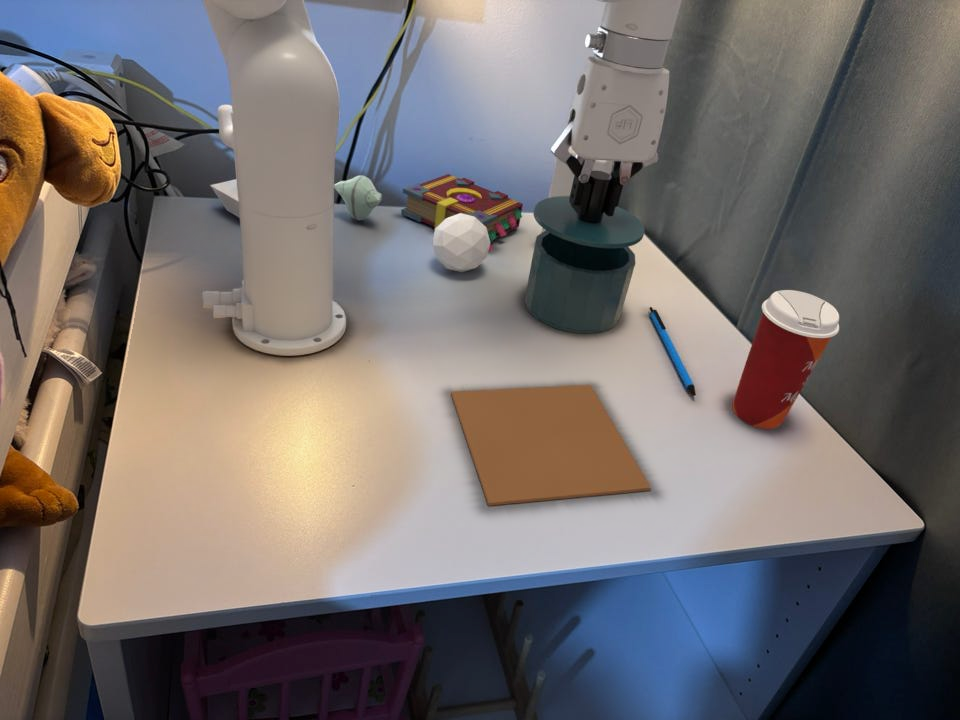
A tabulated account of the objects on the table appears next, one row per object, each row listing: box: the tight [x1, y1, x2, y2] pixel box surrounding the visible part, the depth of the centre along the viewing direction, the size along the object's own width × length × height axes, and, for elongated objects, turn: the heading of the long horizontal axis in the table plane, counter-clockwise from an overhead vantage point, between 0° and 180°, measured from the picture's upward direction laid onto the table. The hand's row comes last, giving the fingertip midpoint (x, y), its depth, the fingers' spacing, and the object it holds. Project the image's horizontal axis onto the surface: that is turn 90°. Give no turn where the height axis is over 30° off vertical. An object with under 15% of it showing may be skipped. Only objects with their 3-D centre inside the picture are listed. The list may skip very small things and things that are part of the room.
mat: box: [450, 384, 652, 507], centre depth 72 cm, size 16×16×1 cm
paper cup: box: [732, 289, 840, 430], centre depth 76 cm, size 8×8×14 cm
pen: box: [649, 306, 697, 398], centre depth 88 cm, size 1×19×1 cm, turn 4°
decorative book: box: [400, 173, 524, 252], centre depth 110 cm, size 11×16×5 cm
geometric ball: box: [431, 213, 491, 273], centre depth 98 cm, size 8×8×8 cm
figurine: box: [209, 103, 240, 219], centre depth 101 cm, size 7×9×15 cm
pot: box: [524, 230, 636, 334], centre depth 92 cm, size 13×13×8 cm
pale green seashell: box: [334, 175, 383, 221], centre depth 106 cm, size 8×4×7 cm, turn 65°
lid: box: [533, 171, 645, 248], centre depth 86 cm, size 14×14×7 cm
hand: (591, 209), depth 87 cm, fingers closed on lid, 3 cm apart
